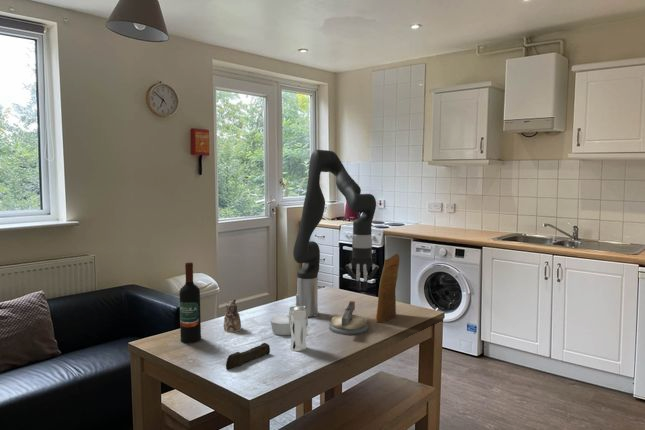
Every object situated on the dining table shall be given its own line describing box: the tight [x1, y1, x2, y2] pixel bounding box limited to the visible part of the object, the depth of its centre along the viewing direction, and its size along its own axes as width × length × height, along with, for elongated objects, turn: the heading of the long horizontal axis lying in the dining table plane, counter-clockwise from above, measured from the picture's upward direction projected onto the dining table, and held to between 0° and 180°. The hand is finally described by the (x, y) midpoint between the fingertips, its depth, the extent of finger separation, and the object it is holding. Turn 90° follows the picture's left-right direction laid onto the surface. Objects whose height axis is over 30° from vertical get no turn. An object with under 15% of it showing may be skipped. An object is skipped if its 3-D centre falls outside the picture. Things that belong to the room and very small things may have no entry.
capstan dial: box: [331, 300, 367, 330], centre depth 199 cm, size 14×25×6 cm, turn 169°
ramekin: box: [269, 314, 291, 336], centre depth 195 cm, size 11×11×5 cm
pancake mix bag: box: [375, 253, 400, 323], centre depth 212 cm, size 7×19×28 cm, turn 146°
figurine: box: [223, 299, 242, 333], centre depth 198 cm, size 7×7×12 cm
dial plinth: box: [328, 321, 369, 336], centre depth 200 cm, size 16×16×2 cm
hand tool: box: [225, 342, 271, 370], centre depth 165 cm, size 19×4×5 cm, turn 140°
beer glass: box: [288, 305, 309, 352], centre depth 176 cm, size 7×7×15 cm
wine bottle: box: [179, 261, 202, 344], centre depth 185 cm, size 8×8×30 cm
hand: (361, 290), depth 187 cm, fingers closed
